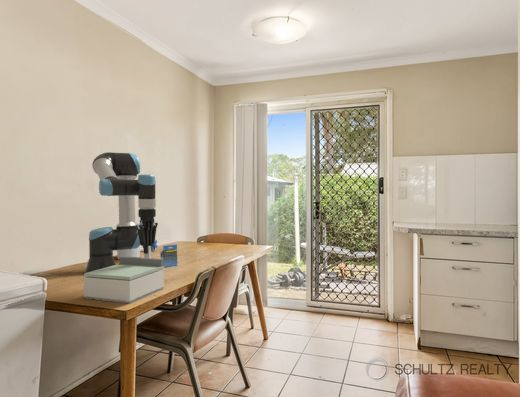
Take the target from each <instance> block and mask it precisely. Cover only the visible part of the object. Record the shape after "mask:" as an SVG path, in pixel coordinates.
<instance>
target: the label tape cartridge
mask: <svg viewBox="0 0 520 397" xmlns="http://www.w3.org/2000/svg"><path fill="white" fill-rule="evenodd" d="M162 248H163V250H161V251H160V253H159V254H160V258H159V259H164V269H165V268H170V267H176V266H178V243H177V244H169V245H168V244H167V245H163V246H162Z"/></svg>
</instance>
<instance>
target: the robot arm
mask: <svg viewBox="0 0 520 397" xmlns="http://www.w3.org/2000/svg"><path fill="white" fill-rule="evenodd" d="M91 167H92V170H93V171H94V173H96V175H97V176H98V178H99V183H98V193H99V195H100V196H102V197H103V196H104V197H105V196H106V197H112V196H113V197H115V196H116V197H117V196H118V223H117V224H116V228H113V227H112V226H106V227H99V228H95V229H92V230H90V231H89V234H88V241H89V244H88V247H89V248H88V249H89V255H88V256H89V259H88V261H87V265H86V267H85V273H87V272H91V271H95V270H98V269H102V268H106V267H110V266H113V265H117V264H116V261H115V258H114V255H113V254H114V253H113V252H114V251H117V250H126V249H130V250H131V249H136V248H138V247H139V246H140V247H142V248H143V247H144V249H143V258H152V250H151V246H153V245H154V243H155V240H156V236H157V228H158V225H159V224H158V222H156V221H155V217H156V215H157V211H156V207H157V206H156V203H157V202H156V201H157V200H156V176H155V175H154V174H140V173H141V163H140V159H139V157H138V155H137V154H136V153H130V152H110V151H109V152H103V153H101V154H98V155H97V156H96V157H95V158H94V159H93V161H92V166H91ZM136 178H137V179H136ZM136 196H138V204H137V205H138V206H137V207H138V208H139V209H138V210H137V211H138V212H137V213H138V214H137V215H138V218H139V223H137V222H136V200H135V199H136V198H135V197H136Z"/></svg>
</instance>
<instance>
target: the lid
mask: <svg viewBox="0 0 520 397" xmlns="http://www.w3.org/2000/svg"><path fill="white" fill-rule="evenodd" d="M118 261H119V262H118V264H116V265H113V266H110V267H106V268H102V269H98V270H95V271H91V272H87V273H86V272H84V274H83V276H84V277H99V278H111V279H123V280H132V279H135V278H138V277H141V276H144V275H146V274H149V273H152V272H155V271H158V270H161V269H163V270H165V268H164V259H160V258H154V257H151V258H144V257H119V259H118Z"/></svg>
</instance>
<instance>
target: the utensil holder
mask: <svg viewBox="0 0 520 397" xmlns="http://www.w3.org/2000/svg"><path fill="white" fill-rule="evenodd" d="M116 254H117V255H116V256H117V260H119V257H139V258H141V257H140V256H141V255H140V254H141V245H140V246H139V247H138V248H136V249H131V250H130V249H126V250H116Z"/></svg>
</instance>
